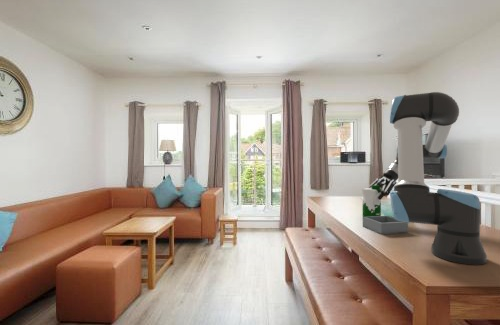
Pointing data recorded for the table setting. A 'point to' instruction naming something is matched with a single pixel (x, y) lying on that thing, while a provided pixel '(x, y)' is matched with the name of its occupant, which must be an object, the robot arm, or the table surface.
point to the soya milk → (368, 205)
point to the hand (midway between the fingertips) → (368, 201)
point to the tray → (385, 225)
